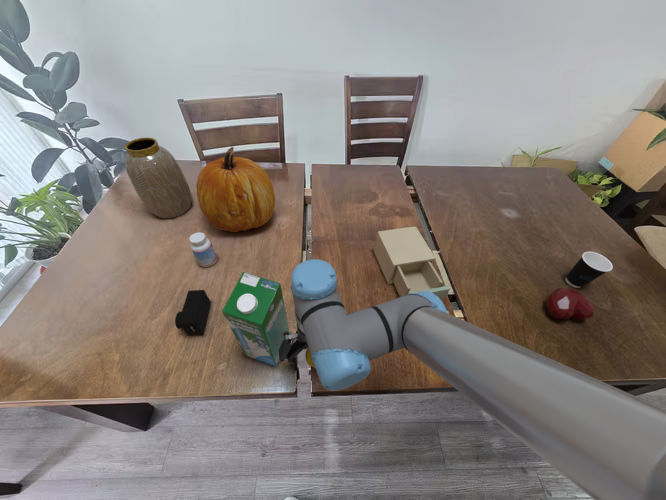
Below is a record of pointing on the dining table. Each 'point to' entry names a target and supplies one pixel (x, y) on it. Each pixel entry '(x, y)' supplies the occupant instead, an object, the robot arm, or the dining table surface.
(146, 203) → the vase
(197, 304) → the digital camera
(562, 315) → the heart
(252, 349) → the milk carton
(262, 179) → the pumpkin
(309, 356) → the lemon
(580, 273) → the dixie cup
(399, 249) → the cabinet
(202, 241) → the pill bottle
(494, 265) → the dining table surface
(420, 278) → the drawer
